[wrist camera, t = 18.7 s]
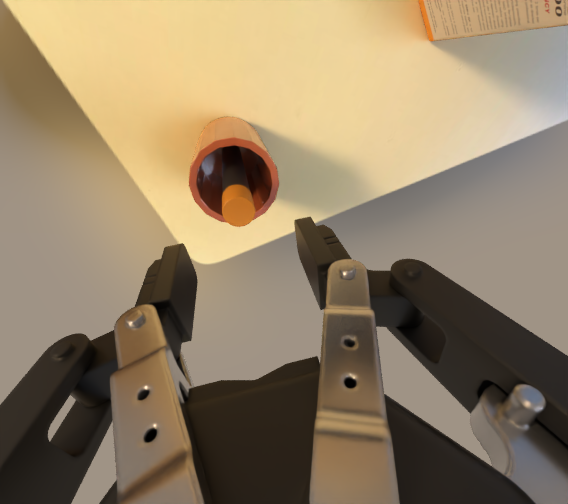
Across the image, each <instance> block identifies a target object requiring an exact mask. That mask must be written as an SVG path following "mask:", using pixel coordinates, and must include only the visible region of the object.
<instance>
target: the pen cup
mask: <svg viewBox="0 0 568 504" xmlns="http://www.w3.org/2000/svg"><path fill="white" fill-rule="evenodd" d="M233 145H235V146H238V147H239V149H240V151H241V155H242V159H243V163H244V168H245V172H246V176H247V180H248V184H249V189H250V192H251V194H252V198H253V202H254V206H255V216H254V218H253V220H254V219H256V218H257V217H259V216H260V215H262V214H264V213H265V212H266V211H267V210H268V208H269V207H270V206H271V204H272V203H273V202H274V200H275V198H276V194H277V191H278V187H279V180H278V173H277V168H276V165H275V164H274V162H273V160H272V158H271V156H270V154H269V153H268V151H267V149H266V147H265V145H264V144H263V142H262V140H261V138H260V137H259V135H258V133H257V132H256V130H255V129H254V128H253V127H252V126H251V125H250V124H249V123H247V122H245V121H244V120H242V119H239V118H235V117H222V118H218V119H216V120H214V121H212V122H210V123H209V124H208V125H207V126H206V127H205V128H204V130H203V131H202V133H201V135H200V137H199V139H198V142H197V146H196V149H195V153H194V156H193V160H192V163H191V167H190V176H189V186H190V189H191V192H192V195H193V198H194V200H195V202H196V203H197V204H198V205H199V207H200V208H201V209H202V210H203V211H204V212H205V213H206V214H207V215H209V216H211V217H213V218H215V219H217V220H219V221H221V222H226V221H225V219H224V217H223V214H222V195H223V187H222V149H223V147H227V146H233ZM227 223H228V222H227Z"/></svg>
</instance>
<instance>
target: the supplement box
mask: <svg viewBox="0 0 568 504" xmlns="http://www.w3.org/2000/svg"><path fill="white" fill-rule="evenodd" d="M419 5H420V9H421V12H422V16H423V19H424V23H425V27H426V31H427V35H428V38H429V41H438V40H446V39H456V38H462V37H471V36H479V35H488V34H496V33H506V32H513V31H522V30H531V29H539V28H548V27H556V26H565V25H568V0H419Z"/></svg>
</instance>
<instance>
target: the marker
mask: <svg viewBox="0 0 568 504" xmlns="http://www.w3.org/2000/svg"><path fill="white" fill-rule="evenodd" d="M222 187H223V195H222V214H223V217H224V219H225V221H226V222H228V223H229V224H230V225H233V226H238V227H240V226H245V225H247V224H249V223H250V222H251V221H252V220H253V218H254V216H255V206H254V202H253V198H252V194H251V192H250V189H249V184H248V180H247V176H246V172H245V168H244V163H243V159H242V155H241V151H240V149H239V147H238V146H235V145H233V146H227V147H223V149H222Z"/></svg>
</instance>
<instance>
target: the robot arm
mask: <svg viewBox="0 0 568 504" xmlns="http://www.w3.org/2000/svg"><path fill="white" fill-rule="evenodd" d="M295 232H296V240H297V248H298V253H299V257H300V260H301V263H302V265H303V268H304V270H305V273H306V275H307V278H308V280H309V283H310V285H311V287H312V290H313V292H314V295H315V297H316V300H317V302H318V305H319V307H320V309H321V310H322V309H324V318H323V332H322V347H321V361H320V363H319V360H318V357H317V356H316V357H312V358H308V359H304V360H300V361H296V362H292V363H288V364H285V365H283V366H282V367H280V368H278V369H276V370H274V371H272V372H270V373H268V374H266V375H264V376H263V377H261V378H259V379H256V380H227V381H226V380H225V381H224V380H221V381H217V382H213V383H209V384H205V385H201V386H197V387H194V385H193V383H192V379H191V376H190V374H189V371H188V368H187V365H186V362H185V359H184V356H183V354H182V352H181V344H182V343H183V342H187V341H191V338H192V329H193V320H194V310H195V300H196V291H197V276H196V272H195V269H194V267H193V264H192V262H191V259H190V257H189V254H188V252H187V250H186V247H185V246H184V244H177V245H172V246H168V247H165V248H164V251H163V255H162V258H161V259H160V260H155V262H154V263H153V264H152V265H151V266H150V267H149V268H148V271H147V273H146V276H145V279H144V282H143V285H142V288H141V290H140V293H139V296H138V299H137V302H136V305H135V307H134V308H131V309H130V310H128V311H127V312H125V313H124V314H123V315H121V316H120V318H119V319H118V320H117V321H116V324H115V326H114V330H113V331H111V332H109V333H107V334H105V335H103V336H100V337H98V338H96V339H94V340H92V341H90V340H89V338H88V337H87V336H86V335H84V334H72V335H69V336H66V337H64V338H62V339H61V340H59V341H57V342H56V343H54V344H53V345H52V346H51V347H49V348H48V349H47V350H46V351H45V352H44V354H43V355H42V356H41V357H40V358H39V359H38V361H37V362H36V363H35V364H34V366H33V367H32V368H31V369H30V370H29V371H28V373H27V374H26V375H25V377H23V379H22V380H21V381H20V382H19V383H18V384H17V386H16V387H15V388H14V389H13V390H12V392H11V393H10V394H9V395H8V396H7V398H6V399H5V400H4V401H3V402H2V404H1V405H0V504H71V503H72V500H73V499H74V497H75V495H76V492H77V490H78V488H79V486H80V484H81V483H82V480H83V478H84V476H85V474H86V472H87V470H88V468H89V466H90V464H91V462H92V460H93V458H94V456H95V454H96V452H97V450H98V448H99V446H100V444H101V442H102V440H103V438H104V436H105V434H106V432H107V430H108V428H109V426H110V424H111V422H112V420H113V433H114V446H115V461H116V475H117V480H116V482H115V483H114V484H113V486H112V487H111V488H110V490H109V491H108V492H107V494H106V495H105V496H104V498H103V499H102V500H101V502H100V503H99V504H568V356H567V355H565V354H564V353H562V352H561V351H559V350H558V349H556V348H555V347H553V346H552V345H550V344H548V343H547V342H545V341H544V340H542V339H541V338H539V337H538V336H536V335H534V334H533V333H532V332H530V331H529V330H527V329H525V328H524V327H522V326H521V325H519V324H518V323H516V322H515V321H513V320H512V319H510V318H509V317H507V316H506V315H504V314H503V313H501V312H499V311H498V310H496V309H495V308H493V307H492V306H490V305H489V304H487V303H486V302H484V301H483V300H481V299H480V298H478V297H477V296H475V295H474V294H472V293H471V292H469V291H467V290H466V289H464V288H463V287H461V286H460V285H458V284H457V283H455V282H454V281H452V280H450V279H449V278H448V277H446V276H445V275H443V274H442V273H440V272H438V271H437V270H435V269H434V268H432V267H431V266H429V265H428V264H426V263H424V262H422V261H419V260H415V259H402V260H399V261H396V262H395V263H394V264H393V265H392V267H391V271H372V270H367V269H366V267H365V266H364V265H363V264H362V263H360V262H358V261H356V260H352V259H351V257H350V256H349V255H348V253H347V251H346V250H345V249H344V247H343V245H342V244H341V243H340V242H339V240H338V238H337V237H336V235H335V234H334V232H333V231H332V229H330V228H328V227H327V226H325V225H320V226H316V225H315V223H314V222H313V220H312V218H311V217H306V218H302V219H297V220H295ZM376 326H380V327H387V329H388V330H389V331H390V332H391V333H392V334H393V335H394V336H395V337H396V338H397V339H398V340H399V341H400V342H401V343H402V344H403V345H404V346H405V347H406V348H407V349H408V350H409V351H410V352H411V353H412V354H413V355H414V356H415V357H416V358H417V359H418V360H419V361H420V362H421V363H422V365H423V366H425V368H426V369H428V370H429V372H430V373H431V374H432V375H433V376H434V377H435V378H436V379H437V380H438V381H439V382H440V383H441V384H442V385H443V386H444V387H445V388H446V389H447V390H448V391H449V392H450V393H451V394H452V395H453V396H454V397H455V398H456V399H457V400H458V401H459V402H460V403H461V404H462V405H463V406H464V407H465V408H466V409H467V410H468V412H470V414H471V415H470V424H471V428H472V430H473V433H474V435H475V436H476V438H477V440H478V441H479V442H480V444H481V446H482V447H483V449H484V450H485V451H486V452H487V454H488V455H489V458H490V460H491V463H492V466H493V467H492V466H490V465H489V464H487V463H486V462H484V461H483V460H481V459H480V458H478V457H477V456H476V455H474V454H473V453H471V452H470V451H468V450H466V449H465V448H464V447H462V446H460V445H459V444H458V443H456V442H455V441H453V440H452V439H450V438H449V437H448V436H446V435H444V434H443V433H442V432H440V431H439V430H437V429H436V428H434V427H433V426H431V425H430V424H428V423H427V422H425V421H424V420H422V419H421V418H419V417H418V416H416V415H415V414H414V413H412V412H410V411H409V410H407V409H406V408H405V407H403V406H401V405H400V404H399V403H397V402H396V401H394V400H393V399H391V398H390V397H388V396H387V395H385V394H384V391H383V381H382V373H381V364H380V356H379V347H378V339H377V331H376ZM70 395H71V396H72V397H74V398H75V399H76V401H75V403H74V405H73V406H72V408H71V409H70V411H69V413H68V414H67V416H66V417H65V419H64V420H63V422H62V424H61V425H60V427H59V428H58V430H57V432H56V433H55V435H54V436H53V438H52V440H51V441H50V442H49V440H48V430H49V427H50V424H51V423H52V421H53V420H54V418H55V417H56V415H57V414H58V412H59V410H60V409H61V408H62V406H63V405H64V403H65V402H66V400H67V399H68V397H69V396H70Z"/></svg>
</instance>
